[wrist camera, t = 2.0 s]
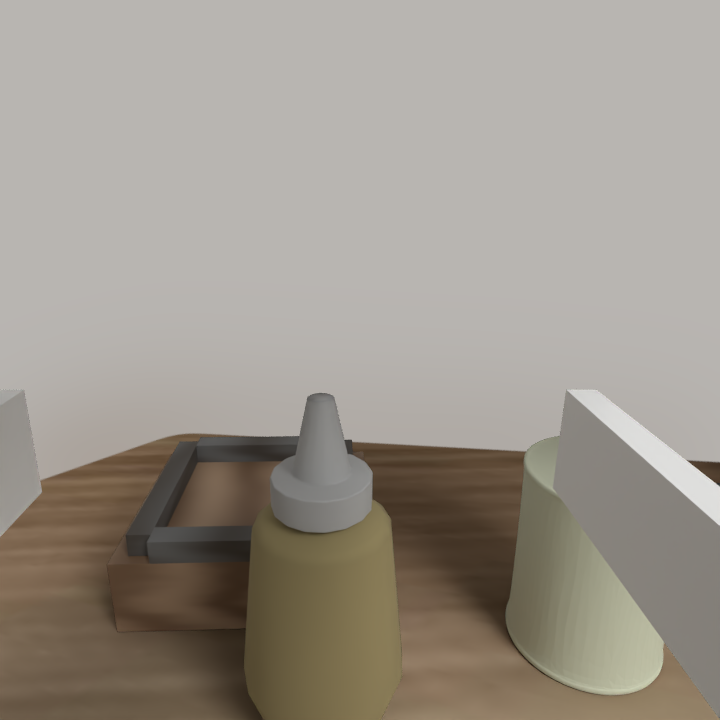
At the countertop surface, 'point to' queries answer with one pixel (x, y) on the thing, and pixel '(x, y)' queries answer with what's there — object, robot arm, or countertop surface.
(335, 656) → the squeeze bottle
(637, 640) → the can
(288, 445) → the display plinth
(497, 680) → the countertop surface
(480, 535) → the countertop surface
